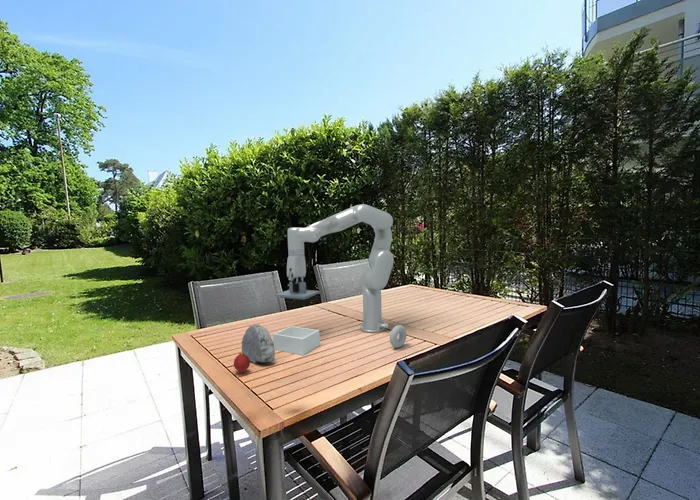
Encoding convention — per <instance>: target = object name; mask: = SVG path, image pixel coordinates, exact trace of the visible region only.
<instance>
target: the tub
mask: <svg viewBox="0 0 700 500" xmlns="http://www.w3.org/2000/svg"><path fill="white" fill-rule="evenodd" d="M320 337H321V336H320V329H313V328H307V327H299V326H294V325H293V326H292V325H290V326H288V327H285V328H284V329H281V330H279V331H276V332H275V333H272V341H273V344H274V350H275V351H279V352H284V353H291V354H294V355H300V356H304V355H306V354H308V353H309V352H311V351H314V349H316V348H318V347H319V346H320V345H321V341H320V340H321V339H320Z"/></svg>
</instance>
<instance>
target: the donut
mask: <svg viewBox="0 0 700 500" xmlns="http://www.w3.org/2000/svg"><path fill="white" fill-rule="evenodd" d="M407 336H408V334H407V329H406V328H405V327H404V325H402V324H397V325H394V327H393V328H392V329H391V331H390V333H389V343H390V345H391V346H392V347H393V348H395V349H398V348H401V347H403V346H404V345H405V343H406V340H407Z"/></svg>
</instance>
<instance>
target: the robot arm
mask: <svg viewBox="0 0 700 500" xmlns="http://www.w3.org/2000/svg"><path fill="white" fill-rule="evenodd" d="M360 223H365V224H366V225H369V226H371V228H373V231H374V235H375V236H374V241H373V244H372V247H371V252H370V253H369V256H368V257H369V259H368V261H369V262H370V264H371V265H372V267H369V268H366V269H365V270H364V271H362V274H361V279H360V280H361V287H362V321H363V322H362V325H360V327H359V329H360V330H361V331H362V332H365V333H373V334H374V333H381V332H383V331H384V330H385V329H389V328H390V325H389V323H385V322H384V319H382V315H383V313H382V290H383V289H384V288H385V287H387V285H388V282H389V279H390V276H391V272H392V270H393V267H394V261H395V260H394V255H393V253H392V252H391V251H390V249H391V244H392V240H393V233H392V229H391V228H392V226H393V224H394V218H393V217H392V215H391V214H390V213H389V212H387V211H384V210H382V209H378V208H377V207H373V206H371V205H368V204H364V203H362V204H357V205H354V206H352V207H349V208H346V209H344V210H342V211H340V212H338V213H335V214H333V215H330V216H328V217H327V218H324V219H322V220H319V221H316V222H315V223H312V224H310V225H307V226H306V227H299V226H298V227H295V226H294V227H289V228H287V249H288V250H287V251H288V257H287V262H286V277H287V278H288V281H289V282H292V284H293V292H299V284H298V282H304V279H305V277H306V276H307V275H306V274H307V265H306V257H305V243H307V242H308V243H316V242H318V241H319V239H321V237H324V236H326V235H328V234H332V233H338V232H341V231H343V230H346V229H348V228H350V227H353V226H355V225H356V224H360Z"/></svg>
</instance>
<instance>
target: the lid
mask: <svg viewBox="0 0 700 500" xmlns="http://www.w3.org/2000/svg"><path fill="white" fill-rule="evenodd" d="M298 284H299V292H293V284H292V282H291V281H289V282H288V286H289V288H288V289H287V290H284V291H281V292H278V293H276V294H274V296H275V297H279V298H282V299H290V300H293V299H294V300H301V301H302V300H307V299H309V298H311V297H314V296H316V295H318V294H320V293H321V290H314V289H313V290H310V289H307V282H306V281H305V282H304V281H303V282H298Z"/></svg>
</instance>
